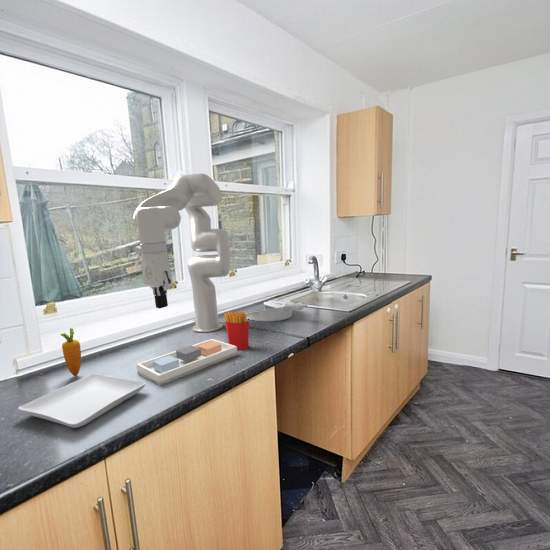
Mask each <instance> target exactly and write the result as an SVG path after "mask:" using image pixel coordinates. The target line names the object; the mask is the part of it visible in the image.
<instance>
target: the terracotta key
mask: <svg viewBox="0 0 550 550" xmlns="http://www.w3.org/2000/svg"><path fill="white" fill-rule="evenodd" d="M198 348H200V349H201V354H203V355H205V356H209V355H212V354H215V353H217V352H220V351H222V349H221V344H218V343H215V342H212V341H211V342H208V343H205V344H202V345H199V346H198Z"/></svg>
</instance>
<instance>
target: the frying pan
mask: <svg viewBox="0 0 550 550" xmlns="http://www.w3.org/2000/svg"><path fill="white" fill-rule="evenodd" d="M263 305H264V308H263V309H262V310H257V311H251V312H247V313H245V314H246V315H247V320H248V319H249V320H248V321H253V320H254V321H255V322H266V323H267V322H281V321H284V320H288V319H290V318H291V317H292V315H293V310H296V311H302V310H303V309H304V308H308V305H309V304H307V303H304V302H297V301H296V302H293V301H291V302H285V303H283V304H280V303H277V302H273V301H264V302H263ZM254 321H253V322H254Z"/></svg>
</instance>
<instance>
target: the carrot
mask: <svg viewBox="0 0 550 550" xmlns="http://www.w3.org/2000/svg"><path fill="white" fill-rule="evenodd" d="M74 334H75V332H74V328H69V334H67V333H66V332H63V333H60V336H61V337H63V338H64V339H65V340H66V341H64V342H63V343H62V344H61V349H62V354H63V357H64V358H63V359H64V361H65V364H66V366H67V369H68V371H69V372H70V374H71V375H72V376H73V377H78V375H79V373H80V369H81V365H82V364H81V362H82V352H81V351H82V350H81V344H80V341H79V340H78V339H74Z"/></svg>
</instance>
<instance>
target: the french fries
mask: <svg viewBox="0 0 550 550" xmlns="http://www.w3.org/2000/svg"><path fill="white" fill-rule="evenodd" d="M223 315H224V318H225V321H224V323H225V328H226V333H227V334H226V335H227V341H228V344H231V345H234V346H237V351H238V350H239V351H242V350H243V351H244V350H246V349H248V348H249V333H250V332H249V330H250V328H249V325H250V323H249V321H250V320H248V319H247V315H246V313H245V312H244V311H243V312H242V311H239V312H238V311H233V312H231V311H226V312H224V313H223Z"/></svg>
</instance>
